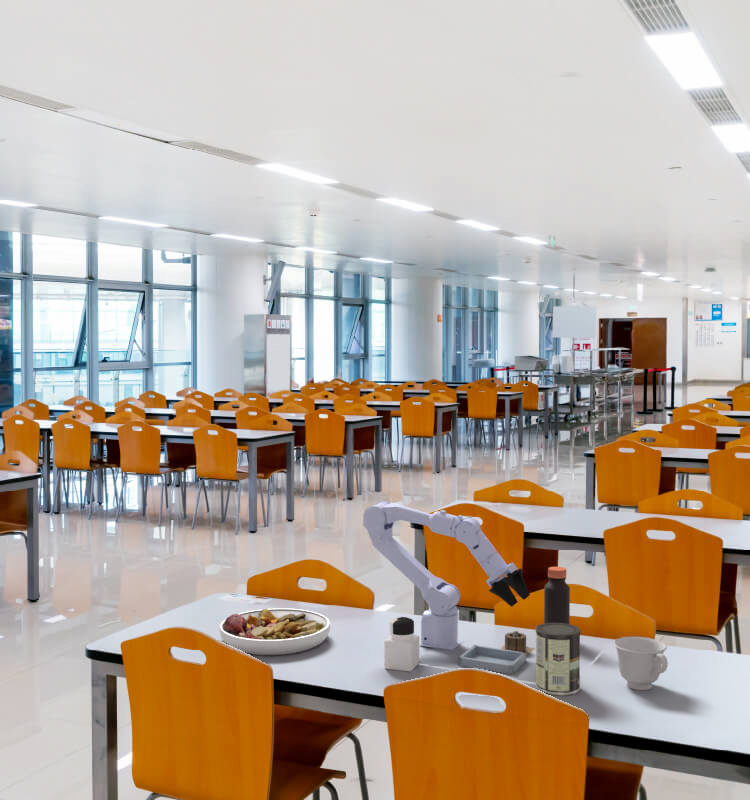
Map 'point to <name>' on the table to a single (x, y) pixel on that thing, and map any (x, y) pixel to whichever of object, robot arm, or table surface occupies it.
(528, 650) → the post stand
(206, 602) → the table surface
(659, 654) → the teacup
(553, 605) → the vinegar
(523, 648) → the collar
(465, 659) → the tray
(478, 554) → the robot arm
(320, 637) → the bowl
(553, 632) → the coffee can
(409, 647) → the medicine bottle
